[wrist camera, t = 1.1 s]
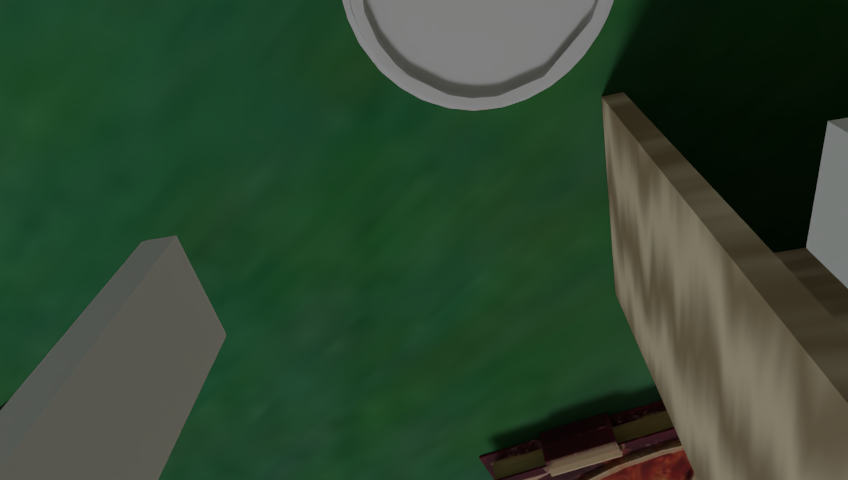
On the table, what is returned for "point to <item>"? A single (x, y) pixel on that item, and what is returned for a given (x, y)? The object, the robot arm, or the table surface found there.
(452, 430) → the table surface
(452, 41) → the disposable coffee cup
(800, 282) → the zigzag arch block
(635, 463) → the book
